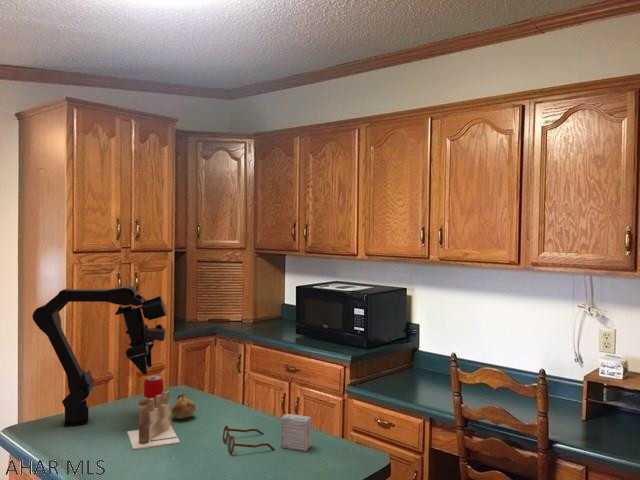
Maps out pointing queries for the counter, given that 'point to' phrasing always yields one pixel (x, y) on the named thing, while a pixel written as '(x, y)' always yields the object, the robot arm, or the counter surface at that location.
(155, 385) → the beverage can
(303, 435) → the medicine box
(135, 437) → the card
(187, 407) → the onion
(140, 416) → the gatepost
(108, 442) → the counter surface
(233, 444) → the glasses
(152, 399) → the fence section
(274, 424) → the counter surface
